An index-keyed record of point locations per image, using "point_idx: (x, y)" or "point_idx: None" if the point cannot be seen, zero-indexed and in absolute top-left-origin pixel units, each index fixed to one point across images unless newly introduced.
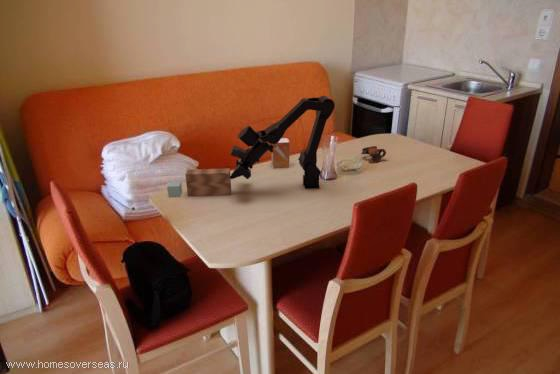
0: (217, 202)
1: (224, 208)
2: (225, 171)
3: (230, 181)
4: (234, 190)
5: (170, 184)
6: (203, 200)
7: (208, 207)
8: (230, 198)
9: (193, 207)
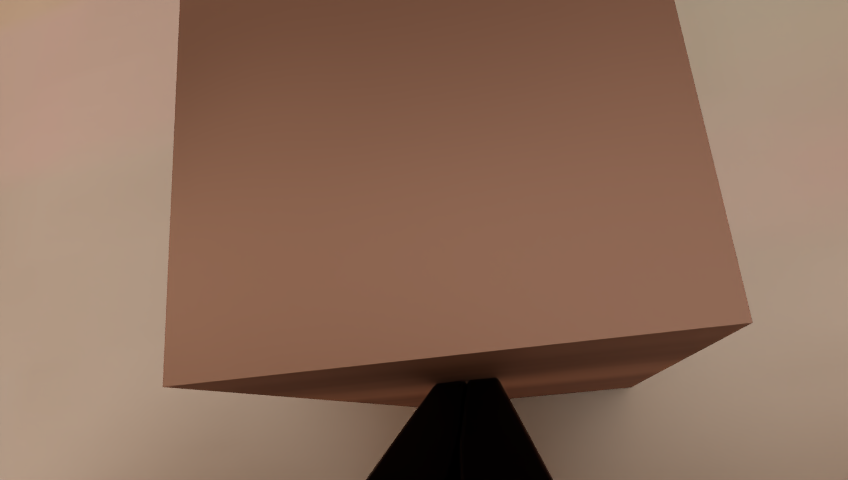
0: None
1: (6, 375)
2: (331, 186)
3: (556, 382)
4: (605, 454)
5: None
6: None
7: (68, 166)
8: (287, 419)
9: (96, 5)
